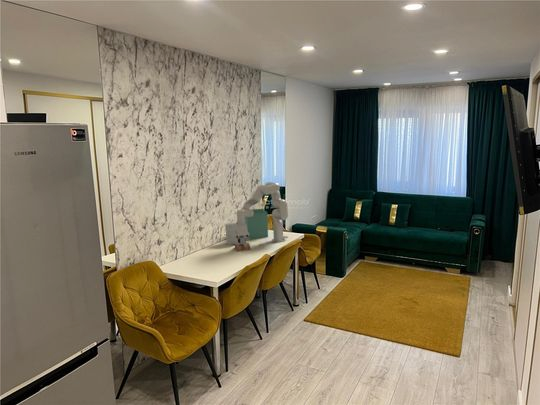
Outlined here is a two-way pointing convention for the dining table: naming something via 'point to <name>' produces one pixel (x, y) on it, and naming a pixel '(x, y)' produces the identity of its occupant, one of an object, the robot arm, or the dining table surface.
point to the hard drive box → (231, 233)
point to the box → (257, 224)
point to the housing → (242, 239)
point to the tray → (242, 247)
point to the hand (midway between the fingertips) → (242, 242)
